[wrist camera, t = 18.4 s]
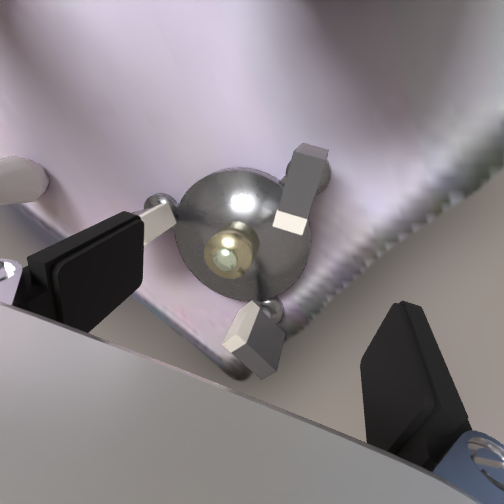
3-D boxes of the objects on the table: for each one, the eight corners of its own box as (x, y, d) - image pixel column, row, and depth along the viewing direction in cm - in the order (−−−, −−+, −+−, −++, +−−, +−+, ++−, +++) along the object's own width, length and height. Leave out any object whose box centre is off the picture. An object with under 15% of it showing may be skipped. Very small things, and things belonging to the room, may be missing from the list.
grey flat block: (135, 209, 36) (88, 232, 29) (175, 198, 34) (134, 220, 27) (143, 228, 37) (99, 254, 30) (183, 218, 35) (146, 244, 28)
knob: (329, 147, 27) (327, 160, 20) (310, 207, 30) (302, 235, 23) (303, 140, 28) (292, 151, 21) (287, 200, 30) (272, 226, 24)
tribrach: (141, 193, 36) (104, 209, 30) (324, 139, 28) (321, 146, 22) (200, 326, 43) (179, 359, 38) (359, 313, 35) (363, 352, 30)
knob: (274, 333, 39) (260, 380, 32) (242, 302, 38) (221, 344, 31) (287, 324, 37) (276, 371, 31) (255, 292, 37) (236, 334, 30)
